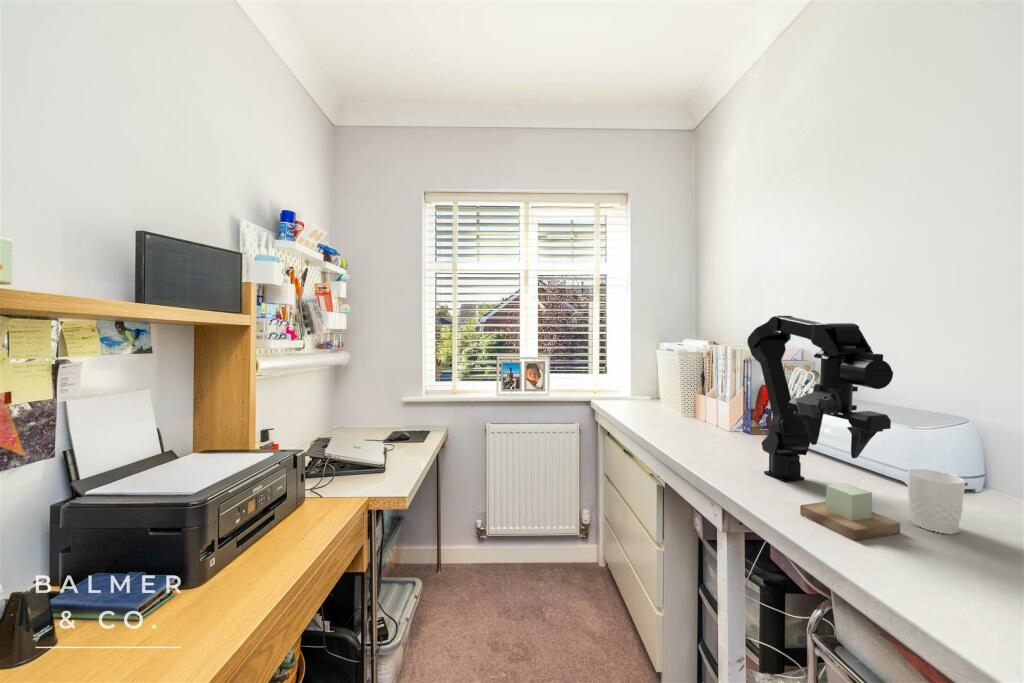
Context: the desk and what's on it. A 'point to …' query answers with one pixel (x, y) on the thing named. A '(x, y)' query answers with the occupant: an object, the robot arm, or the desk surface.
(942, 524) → the white cup
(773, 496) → the desk surface
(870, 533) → the base slab
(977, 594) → the desk surface
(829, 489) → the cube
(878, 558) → the desk surface
